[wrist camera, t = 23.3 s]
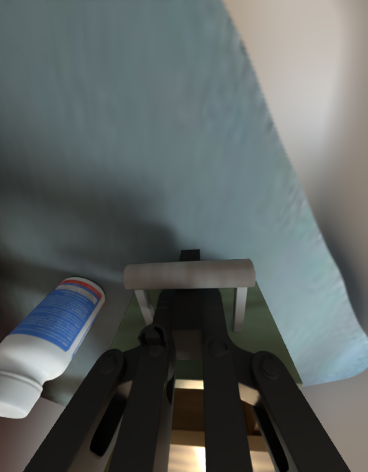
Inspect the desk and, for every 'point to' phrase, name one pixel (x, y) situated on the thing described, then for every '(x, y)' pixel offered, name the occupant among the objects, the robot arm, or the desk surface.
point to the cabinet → (193, 452)
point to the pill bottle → (45, 343)
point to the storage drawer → (236, 315)
